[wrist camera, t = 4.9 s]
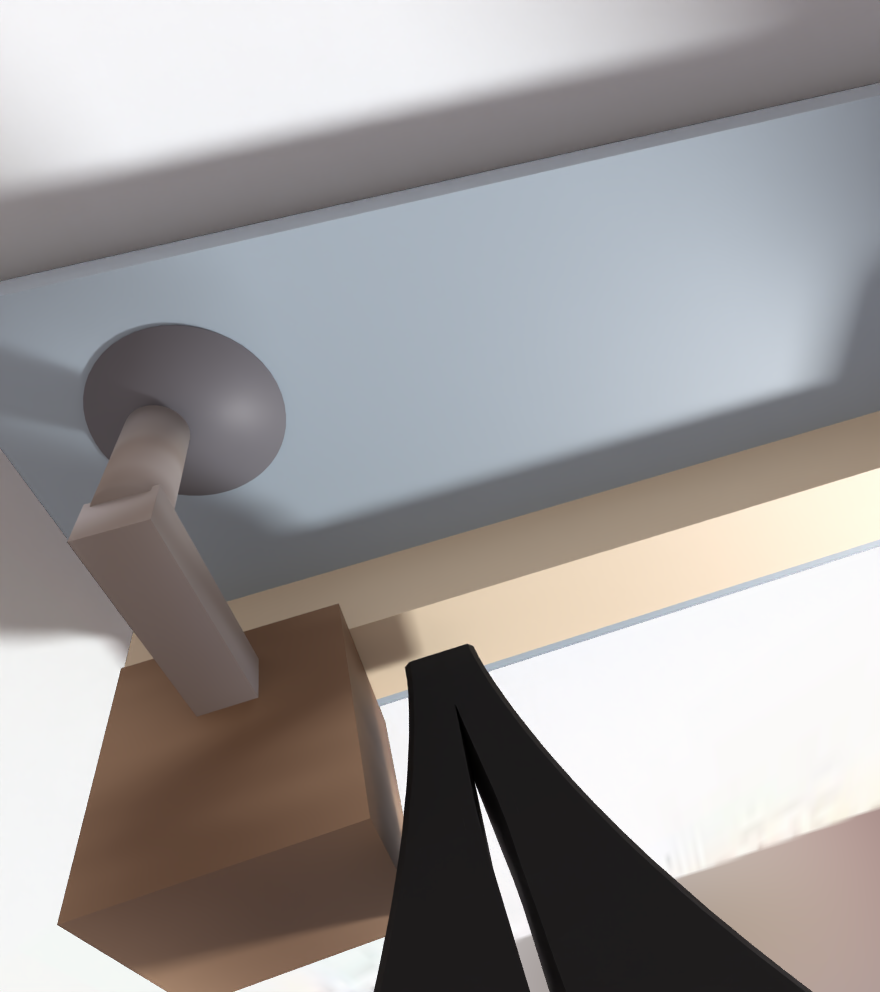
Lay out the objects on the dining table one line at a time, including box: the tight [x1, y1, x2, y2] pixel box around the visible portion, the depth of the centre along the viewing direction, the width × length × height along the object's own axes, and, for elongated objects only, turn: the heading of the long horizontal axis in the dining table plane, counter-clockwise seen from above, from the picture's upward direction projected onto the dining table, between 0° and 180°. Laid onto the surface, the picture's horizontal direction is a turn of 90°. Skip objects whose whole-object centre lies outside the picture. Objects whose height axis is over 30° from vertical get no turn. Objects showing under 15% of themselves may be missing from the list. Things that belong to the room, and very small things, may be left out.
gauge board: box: [0, 83, 880, 706], centre depth 12 cm, size 24×12×5 cm, turn 98°
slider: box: [57, 405, 403, 992], centre depth 10 cm, size 4×8×6 cm, turn 8°
